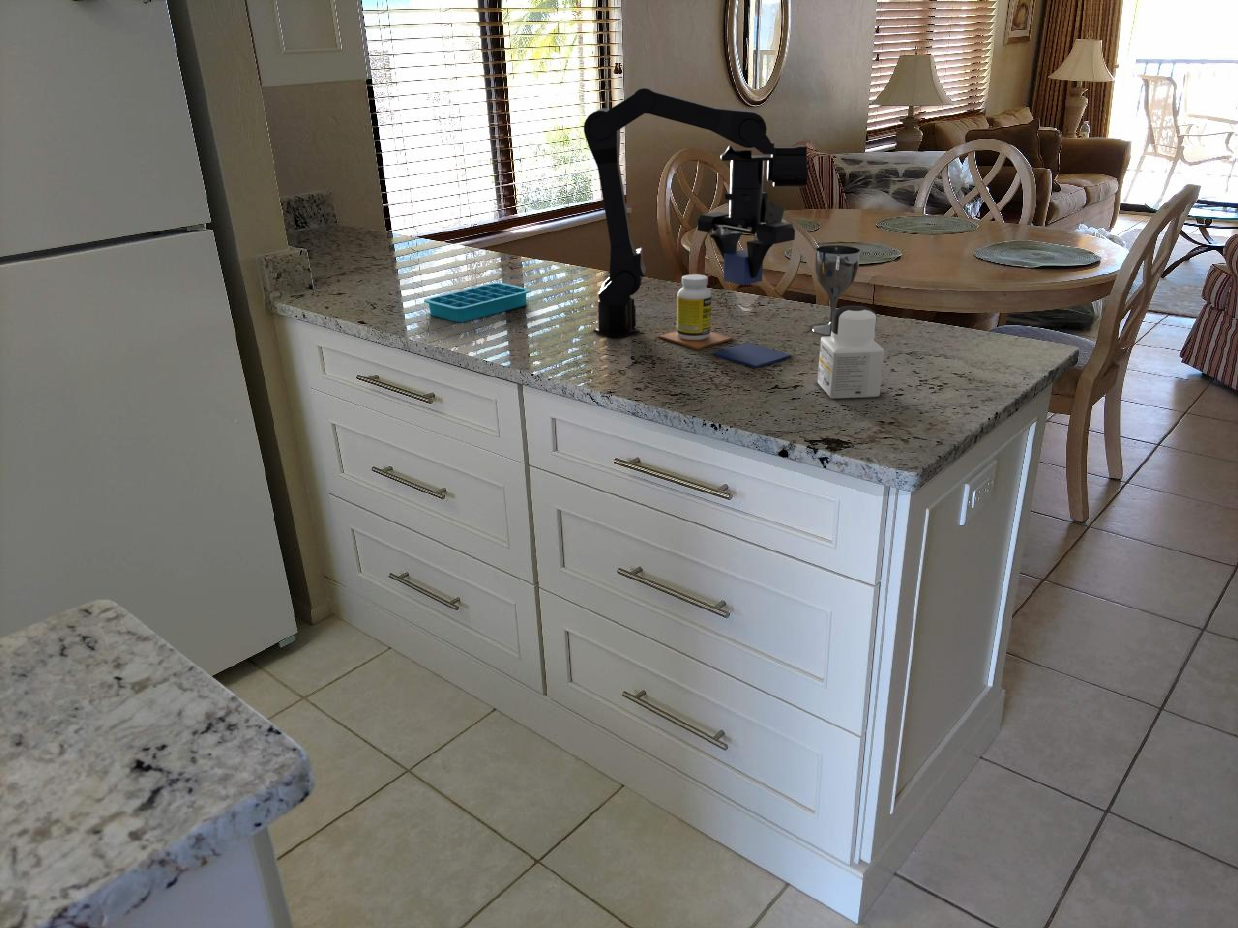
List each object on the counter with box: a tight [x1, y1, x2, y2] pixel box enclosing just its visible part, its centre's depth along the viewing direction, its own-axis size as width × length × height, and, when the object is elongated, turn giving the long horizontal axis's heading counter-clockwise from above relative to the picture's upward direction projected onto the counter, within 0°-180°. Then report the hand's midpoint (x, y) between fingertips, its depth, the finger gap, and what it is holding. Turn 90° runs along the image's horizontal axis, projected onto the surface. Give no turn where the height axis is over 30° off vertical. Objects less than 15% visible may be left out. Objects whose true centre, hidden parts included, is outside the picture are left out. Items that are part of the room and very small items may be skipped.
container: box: [817, 305, 885, 400], centre depth 147 cm, size 8×8×13 cm
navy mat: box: [712, 342, 792, 369], centre depth 166 cm, size 9×10×1 cm
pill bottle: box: [676, 273, 712, 340], centre depth 174 cm, size 6×6×11 cm
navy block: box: [723, 249, 764, 286], centre depth 174 cm, size 5×5×5 cm
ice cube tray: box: [423, 282, 532, 323], centre depth 196 cm, size 12×20×3 cm, turn 138°
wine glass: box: [811, 245, 861, 336], centre depth 177 cm, size 8×8×15 cm
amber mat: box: [658, 330, 733, 350], centre depth 176 cm, size 9×10×1 cm
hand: (742, 275), depth 174 cm, fingers closed on navy block, 5 cm apart
